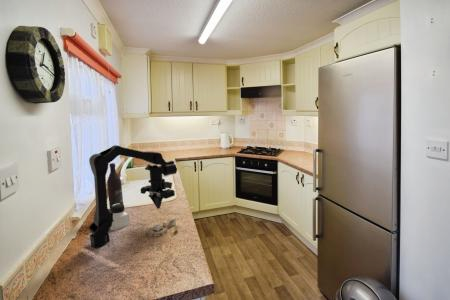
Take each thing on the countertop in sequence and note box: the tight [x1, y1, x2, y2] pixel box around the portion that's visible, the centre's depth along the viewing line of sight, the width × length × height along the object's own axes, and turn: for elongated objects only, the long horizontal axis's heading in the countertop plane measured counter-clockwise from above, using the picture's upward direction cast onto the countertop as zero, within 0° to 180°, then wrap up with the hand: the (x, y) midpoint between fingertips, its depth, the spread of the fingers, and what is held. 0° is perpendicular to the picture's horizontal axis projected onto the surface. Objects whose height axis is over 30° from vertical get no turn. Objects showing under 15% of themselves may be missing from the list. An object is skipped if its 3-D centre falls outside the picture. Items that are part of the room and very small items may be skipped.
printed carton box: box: [109, 203, 130, 231], centre depth 130 cm, size 7×7×12 cm
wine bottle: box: [106, 162, 124, 211], centre depth 143 cm, size 7×7×30 cm
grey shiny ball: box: [153, 224, 162, 232], centre depth 121 cm, size 3×3×3 cm
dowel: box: [173, 223, 179, 233], centre depth 121 cm, size 2×2×3 cm
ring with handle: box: [147, 217, 177, 238], centre depth 124 cm, size 15×9×3 cm, turn 145°
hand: (158, 208), depth 130 cm, fingers closed
